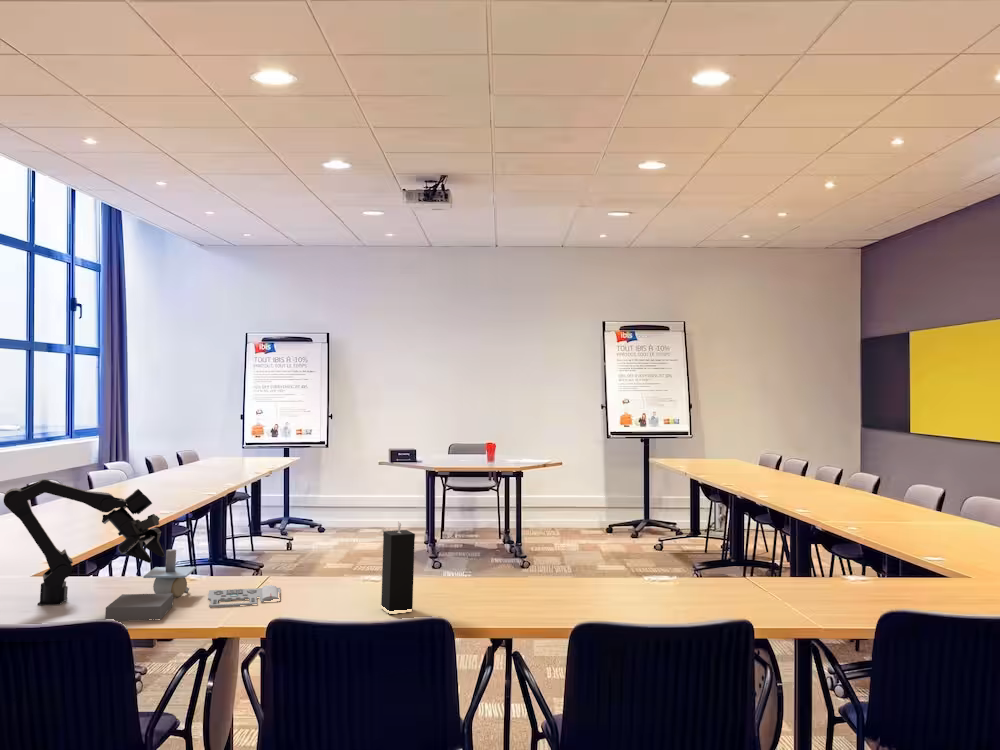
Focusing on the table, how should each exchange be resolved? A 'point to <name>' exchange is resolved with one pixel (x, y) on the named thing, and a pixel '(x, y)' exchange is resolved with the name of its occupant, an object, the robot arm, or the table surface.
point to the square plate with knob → (170, 568)
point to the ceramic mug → (170, 586)
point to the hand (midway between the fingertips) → (157, 558)
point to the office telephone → (243, 595)
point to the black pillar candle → (398, 569)
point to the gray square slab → (139, 607)
